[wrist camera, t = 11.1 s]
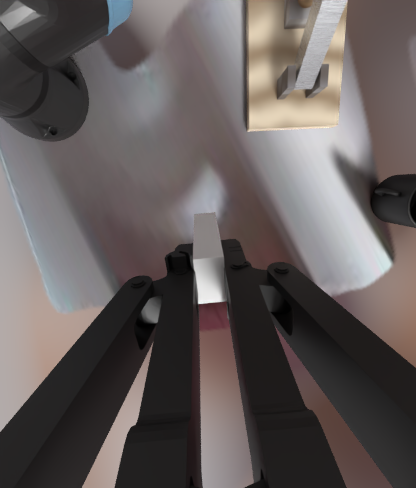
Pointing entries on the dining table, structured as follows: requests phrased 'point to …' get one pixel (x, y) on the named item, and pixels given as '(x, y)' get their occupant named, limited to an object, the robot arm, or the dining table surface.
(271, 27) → the tan bracket base plate
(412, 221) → the mug
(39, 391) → the robot arm
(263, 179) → the dining table surface
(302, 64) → the lever
